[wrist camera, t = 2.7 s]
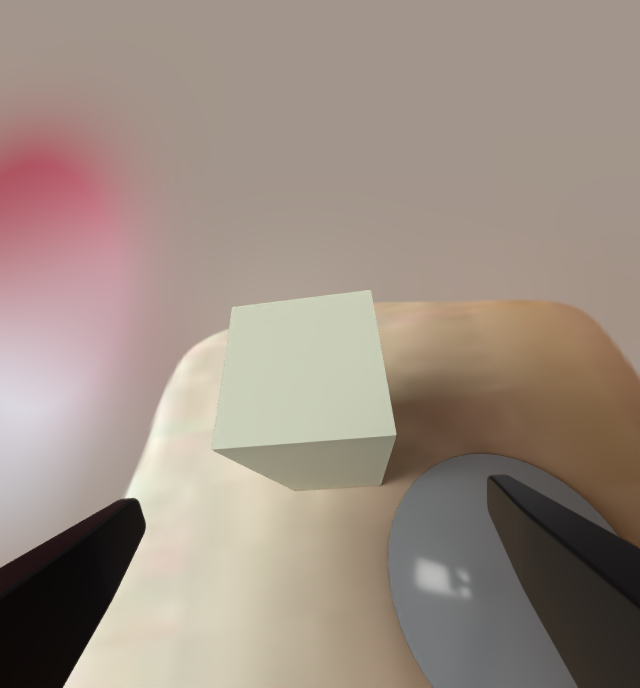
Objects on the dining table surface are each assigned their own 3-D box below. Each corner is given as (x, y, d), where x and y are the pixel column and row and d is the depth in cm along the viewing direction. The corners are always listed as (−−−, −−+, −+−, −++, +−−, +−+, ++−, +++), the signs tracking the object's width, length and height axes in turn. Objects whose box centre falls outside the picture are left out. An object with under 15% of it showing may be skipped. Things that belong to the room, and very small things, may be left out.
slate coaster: (706, 811, 10) (723, 826, 10) (381, 709, 12) (381, 717, 12) (604, 471, 16) (612, 470, 15) (392, 443, 18) (393, 441, 17)
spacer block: (380, 485, 17) (396, 435, 8) (294, 491, 17) (210, 449, 8) (369, 402, 20) (370, 289, 10) (295, 409, 20) (232, 306, 11)
